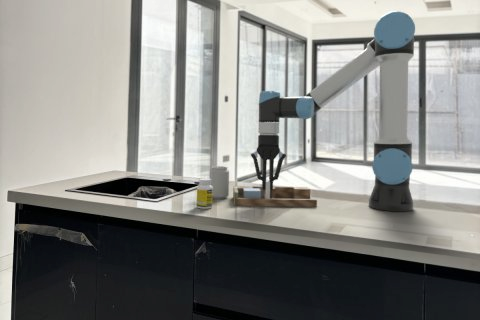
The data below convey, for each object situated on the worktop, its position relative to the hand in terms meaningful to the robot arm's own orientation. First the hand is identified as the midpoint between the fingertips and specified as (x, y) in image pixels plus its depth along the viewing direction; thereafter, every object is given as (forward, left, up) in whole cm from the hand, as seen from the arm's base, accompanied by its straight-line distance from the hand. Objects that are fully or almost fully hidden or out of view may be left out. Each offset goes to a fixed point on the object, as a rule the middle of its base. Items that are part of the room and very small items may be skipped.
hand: (267, 198), depth 154 cm
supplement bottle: (+16, +19, -2) cm, 25 cm away
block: (+5, +2, -2) cm, 6 cm away
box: (-1, -3, -2) cm, 3 cm away
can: (+20, -1, -2) cm, 20 cm away
